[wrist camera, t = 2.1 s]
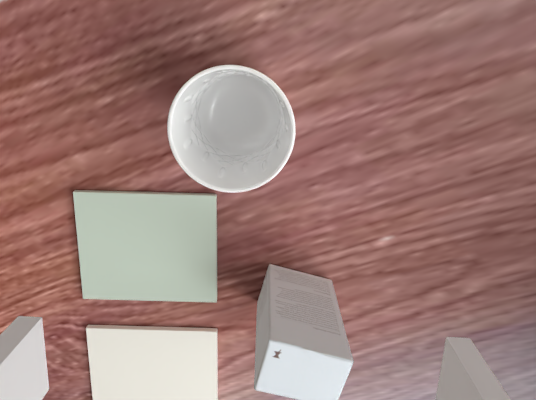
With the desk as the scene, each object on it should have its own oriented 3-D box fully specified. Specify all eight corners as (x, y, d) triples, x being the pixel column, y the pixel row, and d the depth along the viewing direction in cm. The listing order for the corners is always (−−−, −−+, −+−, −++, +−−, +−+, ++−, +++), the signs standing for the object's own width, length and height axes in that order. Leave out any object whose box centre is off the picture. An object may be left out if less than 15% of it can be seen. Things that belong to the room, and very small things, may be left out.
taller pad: (217, 328, 46) (216, 331, 45) (218, 417, 49) (217, 421, 48) (88, 324, 46) (85, 328, 45) (96, 413, 49) (94, 418, 48)
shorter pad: (216, 193, 42) (216, 195, 41) (217, 299, 45) (216, 302, 44) (75, 189, 42) (72, 192, 41) (85, 295, 45) (83, 298, 44)
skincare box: (256, 303, 45) (250, 391, 34) (268, 261, 44) (267, 338, 32) (319, 319, 45) (335, 411, 34) (334, 278, 44) (355, 360, 33)
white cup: (231, 177, 41) (218, 215, 32) (172, 99, 40) (140, 115, 30) (308, 122, 40) (320, 146, 31) (252, 39, 38) (245, 37, 29)
